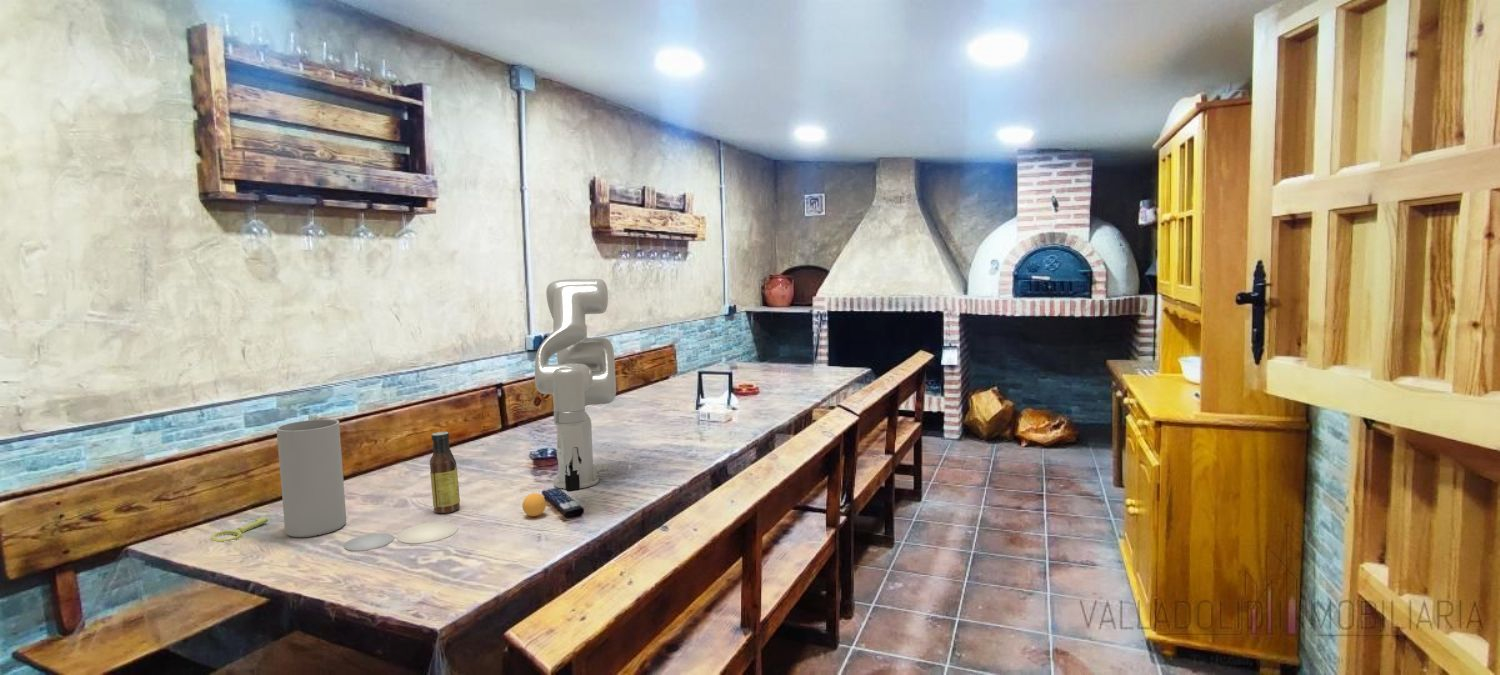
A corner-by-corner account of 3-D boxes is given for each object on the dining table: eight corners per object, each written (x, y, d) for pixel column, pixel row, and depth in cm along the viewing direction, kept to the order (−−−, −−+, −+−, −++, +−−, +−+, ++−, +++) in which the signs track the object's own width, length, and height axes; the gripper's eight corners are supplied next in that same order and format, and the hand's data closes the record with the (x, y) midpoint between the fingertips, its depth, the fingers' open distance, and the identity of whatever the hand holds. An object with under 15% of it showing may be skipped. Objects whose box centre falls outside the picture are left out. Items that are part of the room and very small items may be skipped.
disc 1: (386, 530, 170) (386, 529, 170) (400, 542, 163) (400, 541, 163) (338, 542, 163) (338, 541, 163) (350, 554, 156) (350, 553, 156)
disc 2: (446, 519, 177) (446, 518, 177) (466, 532, 168) (466, 532, 168) (389, 532, 168) (388, 532, 168) (407, 548, 159) (407, 547, 159)
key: (270, 524, 177) (270, 516, 176) (233, 544, 164) (232, 535, 164) (241, 525, 177) (241, 516, 177) (202, 544, 165) (201, 535, 164)
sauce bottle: (465, 508, 185) (461, 431, 183) (446, 515, 179) (441, 437, 177) (446, 504, 188) (442, 429, 186) (427, 512, 182) (422, 434, 180)
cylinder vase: (310, 541, 164) (302, 432, 161) (272, 534, 169) (263, 429, 166) (358, 522, 176) (351, 421, 173) (321, 517, 180) (314, 417, 178)
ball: (539, 510, 182) (538, 489, 182) (550, 515, 178) (549, 494, 178) (519, 515, 179) (518, 494, 178) (529, 521, 175) (528, 499, 174)
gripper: (548, 414, 185) (551, 485, 186) (560, 423, 171) (563, 499, 173) (578, 411, 188) (581, 481, 189) (592, 420, 175) (594, 495, 176)
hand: (572, 490), depth 181 cm, fingers closed
